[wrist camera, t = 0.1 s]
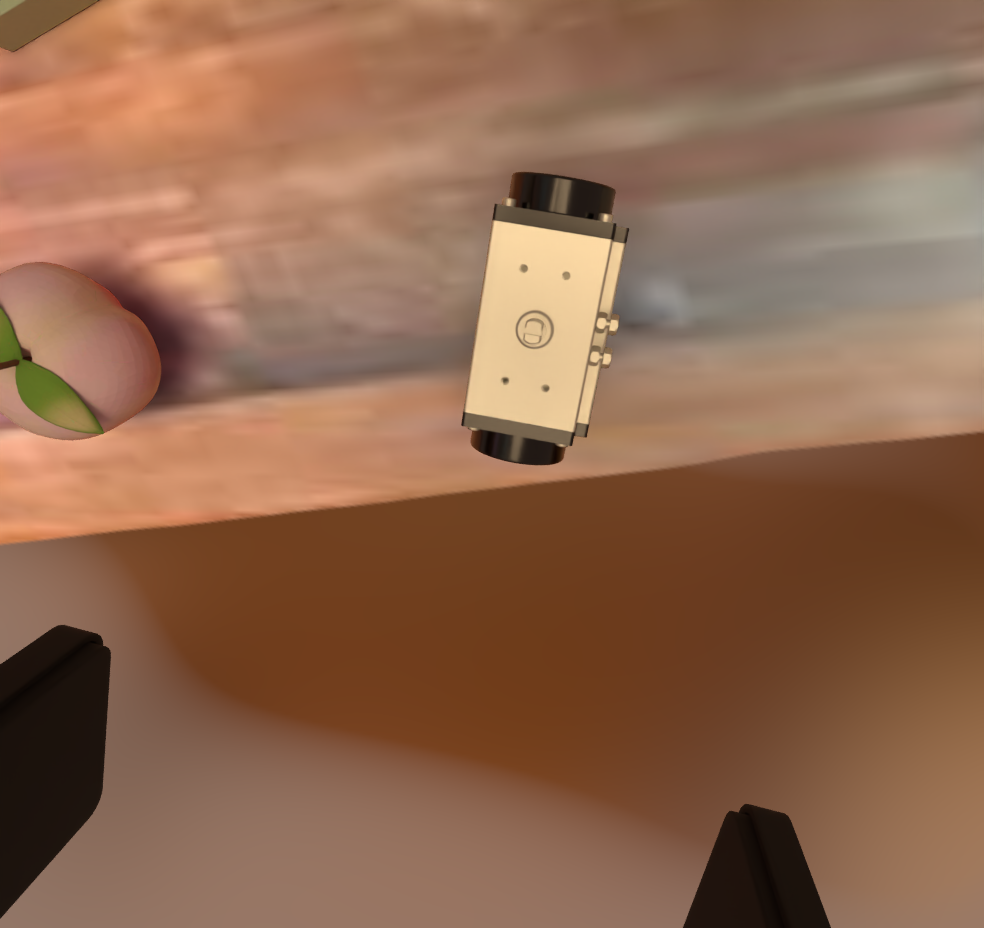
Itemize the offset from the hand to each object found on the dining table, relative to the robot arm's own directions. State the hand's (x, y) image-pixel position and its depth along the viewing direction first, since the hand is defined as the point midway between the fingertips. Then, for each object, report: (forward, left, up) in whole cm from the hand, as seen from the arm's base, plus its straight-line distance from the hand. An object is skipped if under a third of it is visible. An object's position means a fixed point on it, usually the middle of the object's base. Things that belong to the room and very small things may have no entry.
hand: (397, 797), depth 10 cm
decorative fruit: (+18, -17, -31) cm, 40 cm away
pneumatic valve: (-4, -3, -31) cm, 32 cm away
